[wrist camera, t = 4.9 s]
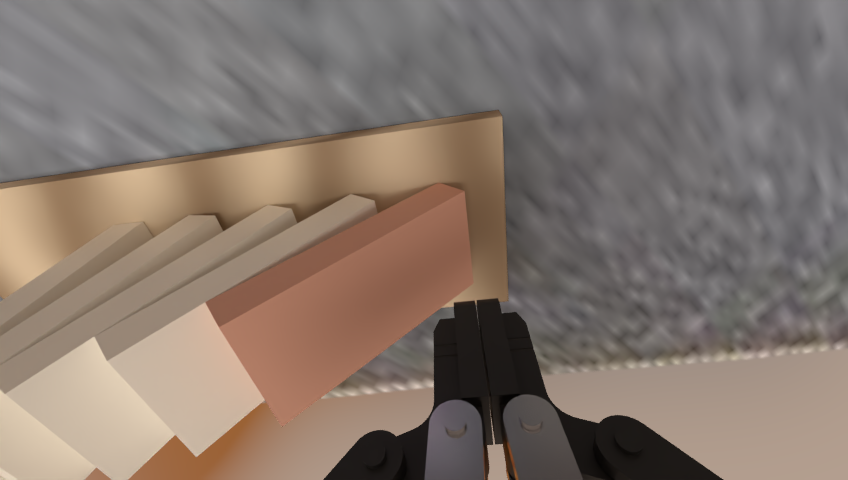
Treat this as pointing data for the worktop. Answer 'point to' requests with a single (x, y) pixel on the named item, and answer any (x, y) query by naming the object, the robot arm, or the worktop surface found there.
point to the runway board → (268, 192)
